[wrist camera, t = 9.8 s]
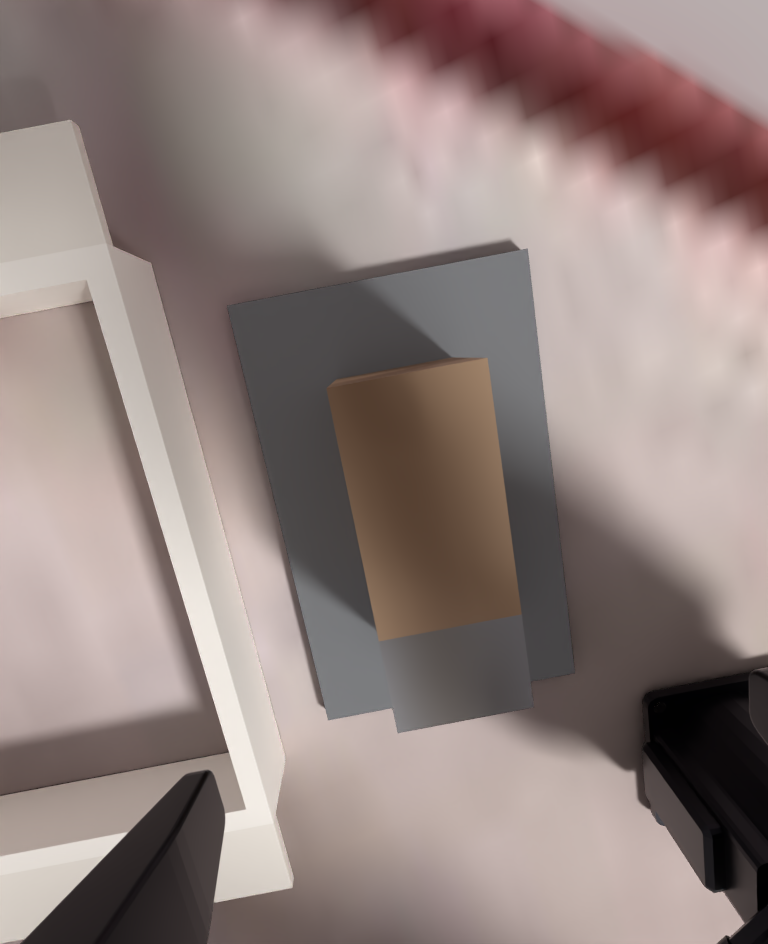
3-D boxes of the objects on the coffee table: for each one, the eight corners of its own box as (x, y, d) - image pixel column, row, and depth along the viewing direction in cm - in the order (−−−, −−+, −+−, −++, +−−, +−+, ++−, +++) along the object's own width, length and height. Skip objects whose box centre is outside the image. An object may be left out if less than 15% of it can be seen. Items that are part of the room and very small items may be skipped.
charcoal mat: (522, 251, 17) (527, 248, 17) (569, 665, 21) (575, 673, 20) (230, 307, 17) (226, 305, 17) (329, 711, 21) (328, 720, 20)
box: (451, 357, 17) (487, 358, 12) (490, 619, 19) (534, 707, 15) (336, 379, 17) (326, 388, 12) (388, 639, 19) (397, 732, 15)
